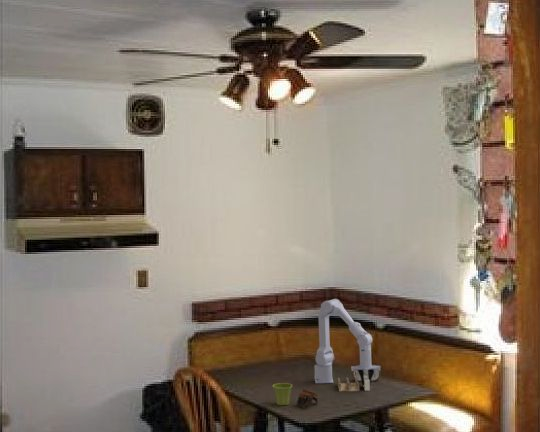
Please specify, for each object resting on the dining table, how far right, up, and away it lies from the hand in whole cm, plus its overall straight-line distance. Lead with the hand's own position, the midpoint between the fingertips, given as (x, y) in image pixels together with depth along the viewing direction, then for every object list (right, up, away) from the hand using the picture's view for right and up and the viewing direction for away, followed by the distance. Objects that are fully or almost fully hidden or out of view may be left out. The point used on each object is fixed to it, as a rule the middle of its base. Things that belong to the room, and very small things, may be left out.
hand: (366, 384), depth 330 cm
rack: (-9, -2, +1) cm, 9 cm away
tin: (+2, -2, +14) cm, 14 cm away
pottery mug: (-31, -3, -27) cm, 41 cm away
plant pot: (-43, -4, -22) cm, 48 cm away
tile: (0, -2, 0) cm, 2 cm away
